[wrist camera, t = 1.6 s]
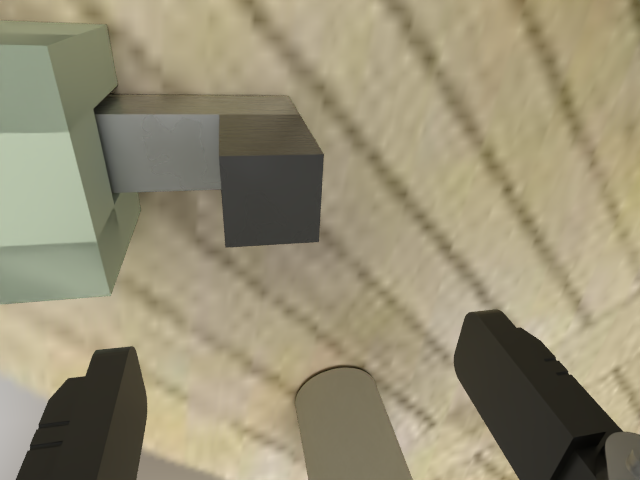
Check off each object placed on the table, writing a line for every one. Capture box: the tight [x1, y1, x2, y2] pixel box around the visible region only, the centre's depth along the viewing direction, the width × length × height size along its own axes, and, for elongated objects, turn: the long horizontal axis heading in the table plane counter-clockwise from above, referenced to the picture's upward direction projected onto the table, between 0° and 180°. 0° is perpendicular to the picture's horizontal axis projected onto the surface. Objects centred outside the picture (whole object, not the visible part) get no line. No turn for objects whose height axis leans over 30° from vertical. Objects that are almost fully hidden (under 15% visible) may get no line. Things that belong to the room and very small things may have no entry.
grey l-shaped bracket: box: [93, 95, 324, 247], centre depth 20 cm, size 4×22×10 cm, turn 87°
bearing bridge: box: [0, 20, 141, 304], centre depth 20 cm, size 11×5×9 cm, turn 177°
